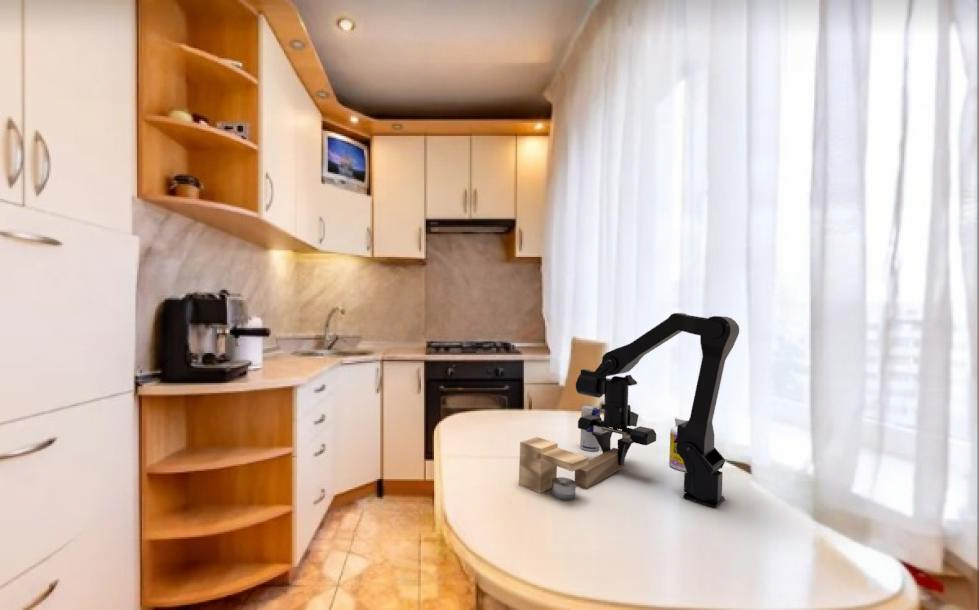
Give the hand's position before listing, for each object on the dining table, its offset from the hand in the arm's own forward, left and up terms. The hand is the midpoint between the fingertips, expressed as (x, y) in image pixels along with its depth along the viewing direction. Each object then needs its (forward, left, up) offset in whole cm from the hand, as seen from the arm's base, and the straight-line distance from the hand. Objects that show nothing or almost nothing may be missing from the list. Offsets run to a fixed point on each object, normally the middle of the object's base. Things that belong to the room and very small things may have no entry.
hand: (614, 463), depth 104 cm
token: (0, +22, -2) cm, 22 cm away
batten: (0, +7, -1) cm, 7 cm away
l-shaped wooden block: (+3, +22, -2) cm, 22 cm away
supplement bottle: (-11, -16, -2) cm, 20 cm away
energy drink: (+13, -10, -2) cm, 17 cm away
